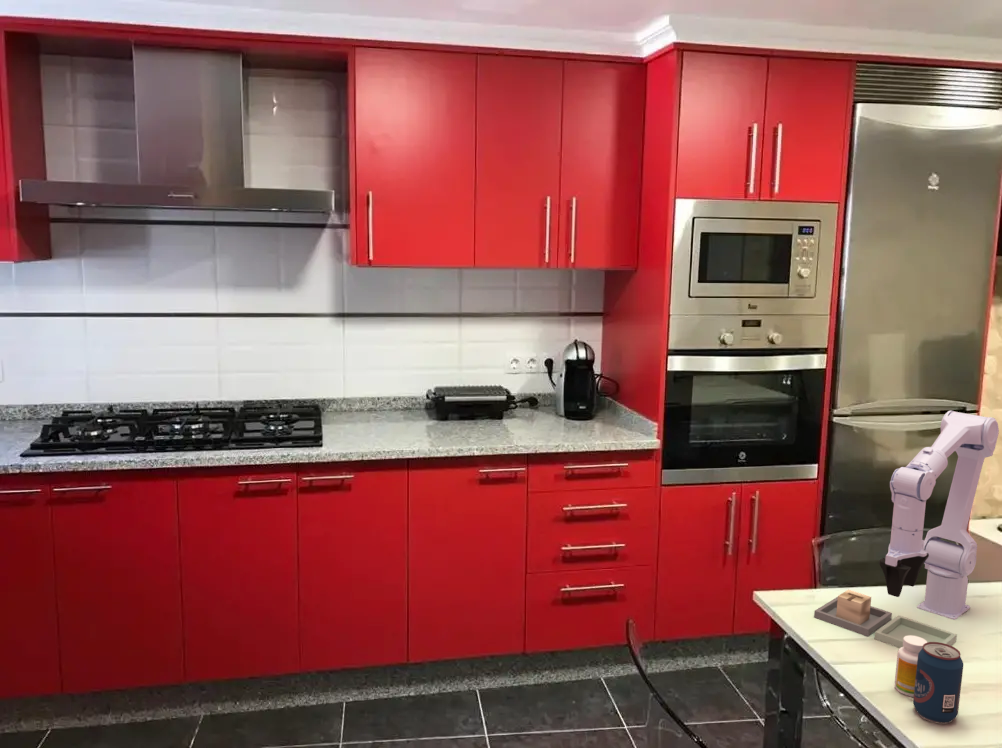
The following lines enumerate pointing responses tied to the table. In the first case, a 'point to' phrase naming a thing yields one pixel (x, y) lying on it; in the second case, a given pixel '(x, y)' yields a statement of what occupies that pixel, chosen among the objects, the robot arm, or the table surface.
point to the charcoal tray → (866, 629)
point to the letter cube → (853, 607)
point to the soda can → (938, 682)
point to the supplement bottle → (908, 664)
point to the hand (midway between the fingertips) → (901, 589)
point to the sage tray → (912, 632)
